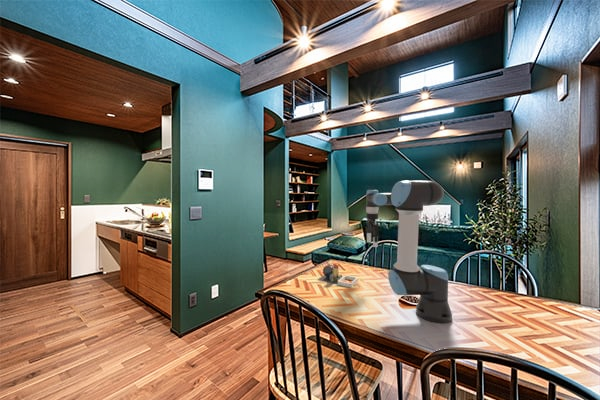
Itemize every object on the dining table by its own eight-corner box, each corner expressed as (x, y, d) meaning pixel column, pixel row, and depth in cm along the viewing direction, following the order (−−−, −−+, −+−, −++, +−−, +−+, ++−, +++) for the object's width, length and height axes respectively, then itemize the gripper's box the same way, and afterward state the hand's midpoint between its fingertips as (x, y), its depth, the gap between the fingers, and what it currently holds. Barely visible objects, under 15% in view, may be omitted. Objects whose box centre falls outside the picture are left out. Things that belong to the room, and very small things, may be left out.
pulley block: (338, 285, 152) (337, 271, 152) (317, 281, 160) (316, 268, 160) (345, 279, 163) (345, 266, 163) (325, 275, 171) (325, 263, 171)
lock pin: (337, 282, 156) (337, 265, 156) (332, 281, 158) (332, 264, 158) (339, 280, 159) (339, 264, 159) (334, 279, 161) (334, 263, 160)
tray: (351, 288, 147) (351, 283, 147) (337, 285, 152) (337, 281, 152) (358, 281, 158) (358, 277, 158) (345, 279, 163) (345, 275, 163)
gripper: (384, 214, 148) (384, 249, 149) (371, 211, 173) (371, 240, 173) (372, 215, 148) (372, 249, 148) (361, 211, 172) (361, 240, 173)
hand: (372, 244), depth 161 cm, fingers open, 13 cm apart
